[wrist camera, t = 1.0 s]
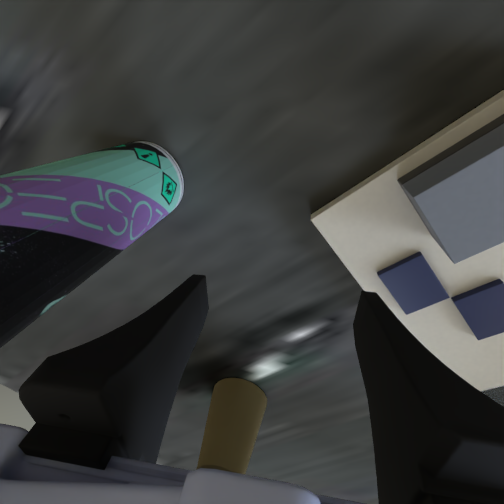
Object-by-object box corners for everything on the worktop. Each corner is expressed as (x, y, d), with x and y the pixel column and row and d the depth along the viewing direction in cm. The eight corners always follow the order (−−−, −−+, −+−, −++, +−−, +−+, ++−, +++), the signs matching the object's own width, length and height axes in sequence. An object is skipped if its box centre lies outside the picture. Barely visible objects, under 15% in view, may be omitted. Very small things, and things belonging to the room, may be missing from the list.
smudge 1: (523, 319, 20) (528, 324, 19) (475, 335, 21) (478, 341, 20) (499, 278, 19) (503, 282, 18) (450, 297, 20) (453, 302, 19)
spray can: (184, 220, 22) (-267, 645, 5) (119, 208, 23) (-479, 548, 6) (184, 147, 20) (-784, 524, 2) (110, 135, 20) (-1075, 362, 3)
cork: (224, 369, 30) (179, 498, 20) (276, 393, 30) (257, 533, 20) (206, 399, 33) (160, 523, 23) (254, 421, 33) (228, 553, 23)
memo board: (662, 331, 19) (678, 342, 18) (441, 389, 25) (446, 400, 24) (554, 56, 14) (569, 53, 13) (310, 214, 20) (310, 219, 19)
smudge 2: (447, 293, 20) (450, 298, 19) (404, 311, 21) (406, 315, 21) (419, 250, 19) (422, 254, 18) (376, 271, 20) (377, 275, 20)
